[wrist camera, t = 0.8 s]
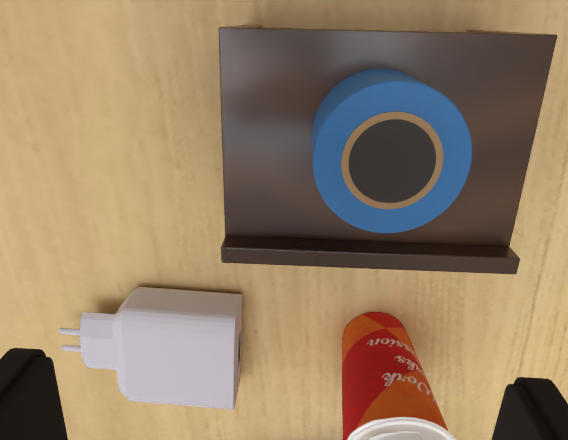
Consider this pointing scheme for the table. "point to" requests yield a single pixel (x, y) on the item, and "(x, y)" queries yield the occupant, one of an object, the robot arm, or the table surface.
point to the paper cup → (385, 384)
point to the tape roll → (389, 151)
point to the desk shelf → (299, 159)
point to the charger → (168, 346)
